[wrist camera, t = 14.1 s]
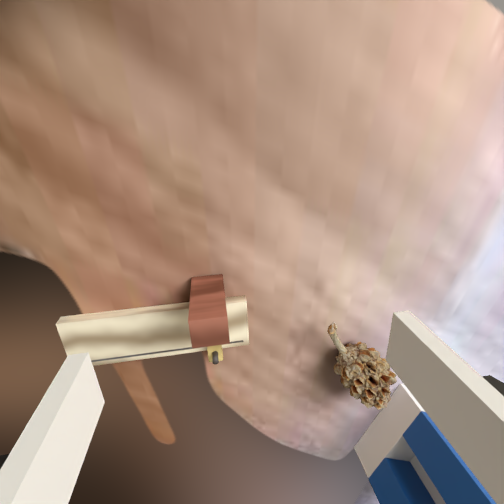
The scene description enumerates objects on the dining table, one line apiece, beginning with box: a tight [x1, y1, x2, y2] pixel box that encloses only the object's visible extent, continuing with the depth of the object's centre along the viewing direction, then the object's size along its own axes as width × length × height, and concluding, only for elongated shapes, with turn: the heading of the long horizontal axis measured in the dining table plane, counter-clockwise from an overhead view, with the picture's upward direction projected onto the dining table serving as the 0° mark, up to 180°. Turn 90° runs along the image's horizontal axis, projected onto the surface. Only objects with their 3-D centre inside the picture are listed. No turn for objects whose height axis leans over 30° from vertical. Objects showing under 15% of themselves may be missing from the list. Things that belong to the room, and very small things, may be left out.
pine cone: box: [328, 322, 397, 410], centre depth 55 cm, size 22×10×10 cm, turn 41°
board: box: [56, 295, 249, 366], centre depth 51 cm, size 9×30×2 cm, turn 93°
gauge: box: [188, 274, 230, 364], centre depth 47 cm, size 14×5×12 cm, turn 3°
